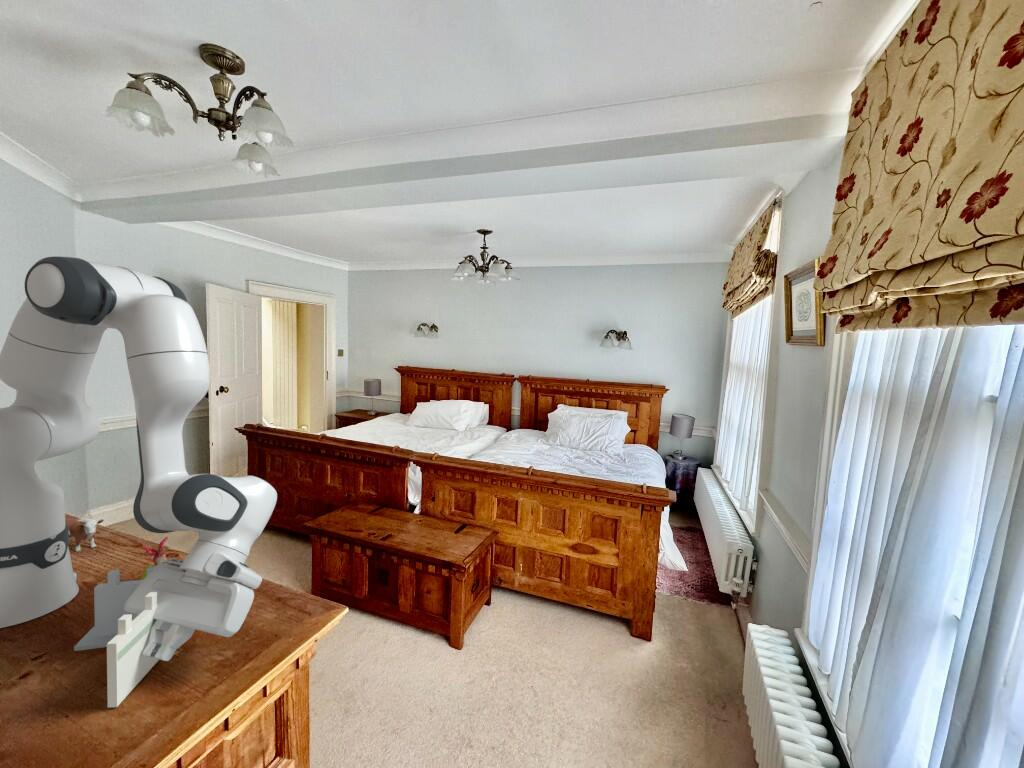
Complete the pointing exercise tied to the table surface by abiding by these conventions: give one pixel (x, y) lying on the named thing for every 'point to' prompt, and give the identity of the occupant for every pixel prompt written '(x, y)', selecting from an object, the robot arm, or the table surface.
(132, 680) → the fence panel
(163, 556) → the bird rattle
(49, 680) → the table surface
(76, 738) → the table surface
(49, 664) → the table surface
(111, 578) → the grey toy wall
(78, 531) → the bull figurine
